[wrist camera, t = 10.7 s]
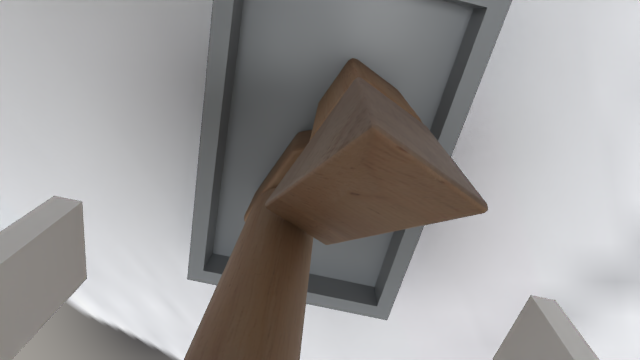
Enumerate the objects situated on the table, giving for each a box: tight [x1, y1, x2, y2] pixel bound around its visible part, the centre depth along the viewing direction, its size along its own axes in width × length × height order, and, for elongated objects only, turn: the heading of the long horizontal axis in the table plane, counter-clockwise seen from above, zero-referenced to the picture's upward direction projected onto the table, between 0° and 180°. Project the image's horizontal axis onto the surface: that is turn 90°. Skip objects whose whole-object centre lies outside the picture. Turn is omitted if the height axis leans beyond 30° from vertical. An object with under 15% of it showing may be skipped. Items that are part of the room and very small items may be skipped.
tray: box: [187, 0, 512, 320], centre depth 23 cm, size 21×14×3 cm, turn 167°
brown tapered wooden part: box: [184, 58, 488, 360], centre depth 15 cm, size 4×11×18 cm, turn 145°
